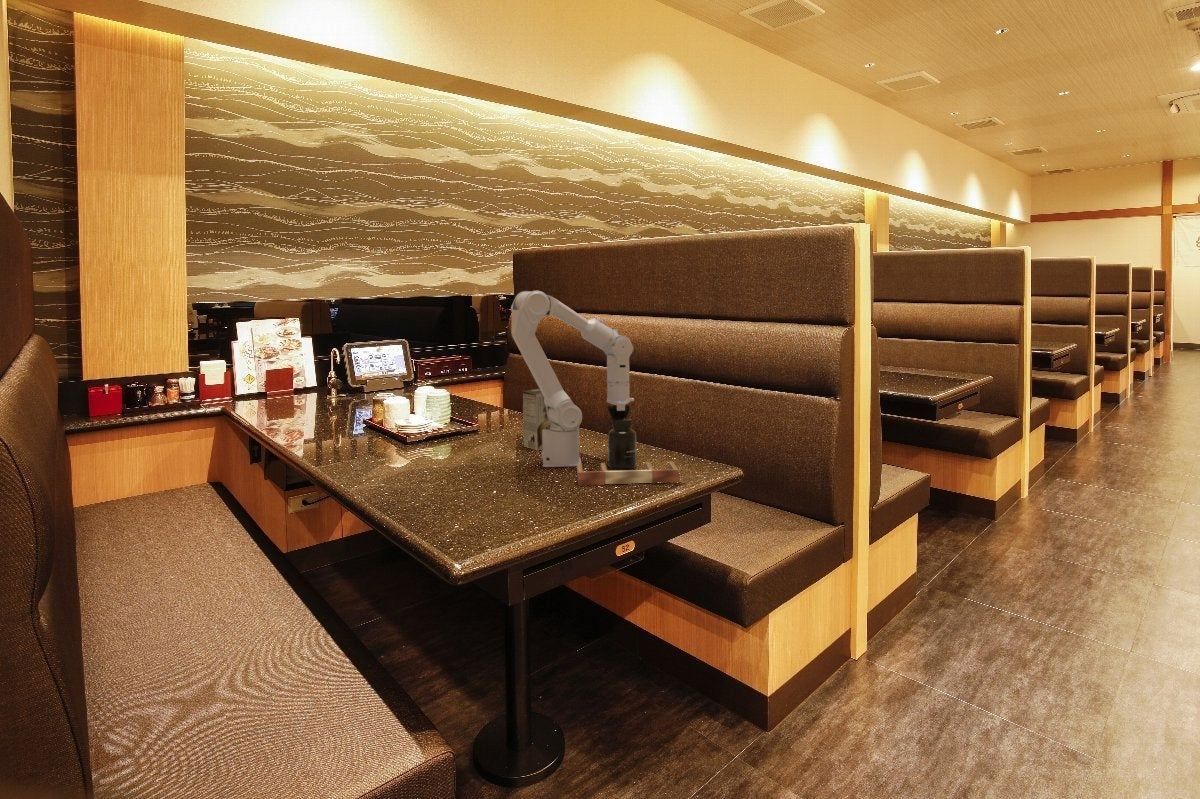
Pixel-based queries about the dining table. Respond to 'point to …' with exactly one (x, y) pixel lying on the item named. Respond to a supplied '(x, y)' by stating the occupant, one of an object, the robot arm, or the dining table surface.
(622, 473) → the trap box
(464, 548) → the dining table surface
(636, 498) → the dining table surface
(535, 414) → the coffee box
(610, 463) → the supplement bottle
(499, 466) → the dining table surface
